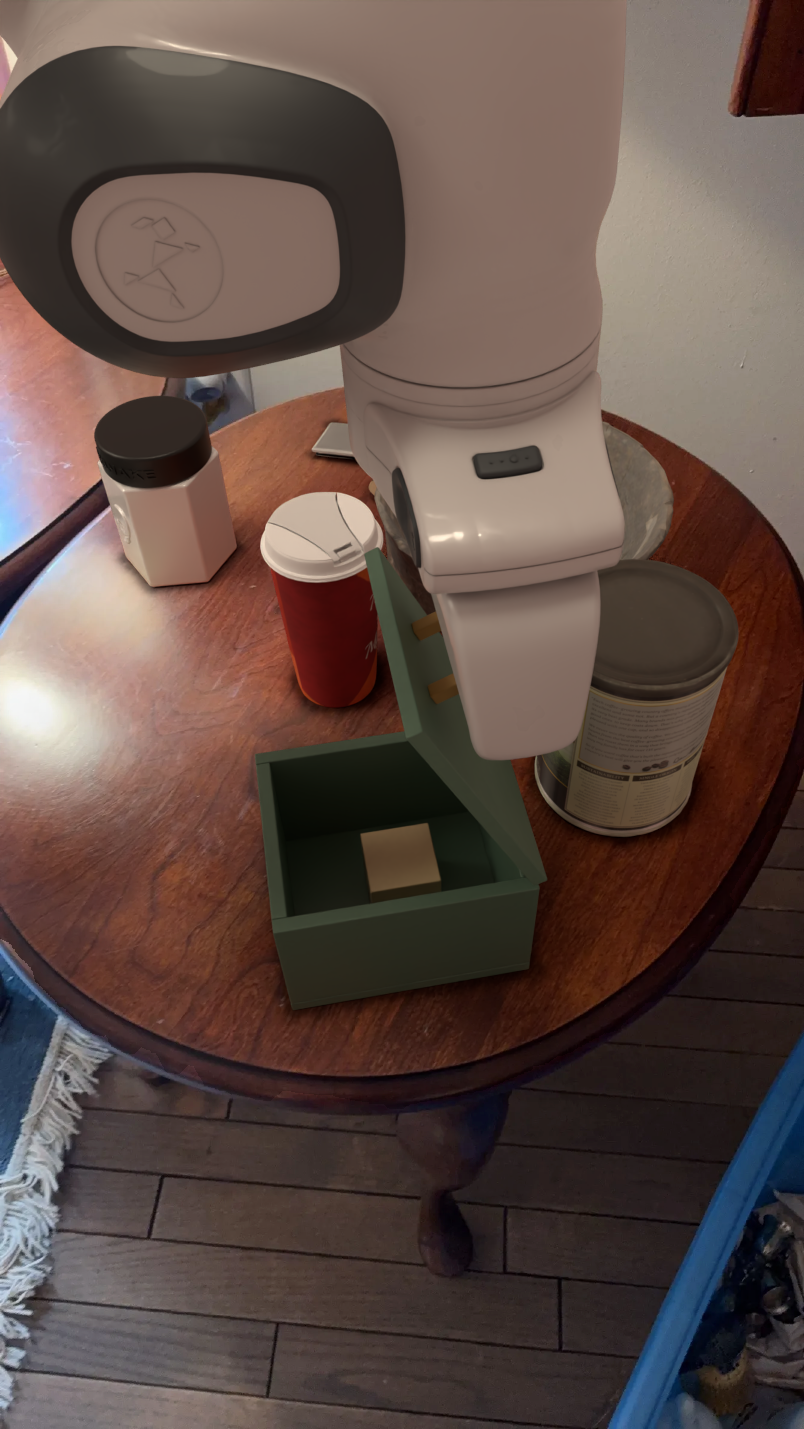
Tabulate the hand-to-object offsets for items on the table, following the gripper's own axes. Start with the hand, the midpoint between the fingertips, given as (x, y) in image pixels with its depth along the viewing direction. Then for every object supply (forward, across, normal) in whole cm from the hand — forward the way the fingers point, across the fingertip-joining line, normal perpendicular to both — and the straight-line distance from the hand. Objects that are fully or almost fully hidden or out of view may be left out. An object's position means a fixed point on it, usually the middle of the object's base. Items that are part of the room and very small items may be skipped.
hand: (470, 660), depth 47 cm
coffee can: (+20, -7, +11) cm, 24 cm away
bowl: (+20, -25, +9) cm, 33 cm away
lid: (+4, 0, -1) cm, 4 cm away
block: (+19, 0, -4) cm, 20 cm away
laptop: (+18, -47, 0) cm, 50 cm away
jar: (+20, -35, -16) cm, 43 cm away
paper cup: (+20, -19, -6) cm, 28 cm away
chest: (+20, 0, -5) cm, 21 cm away
